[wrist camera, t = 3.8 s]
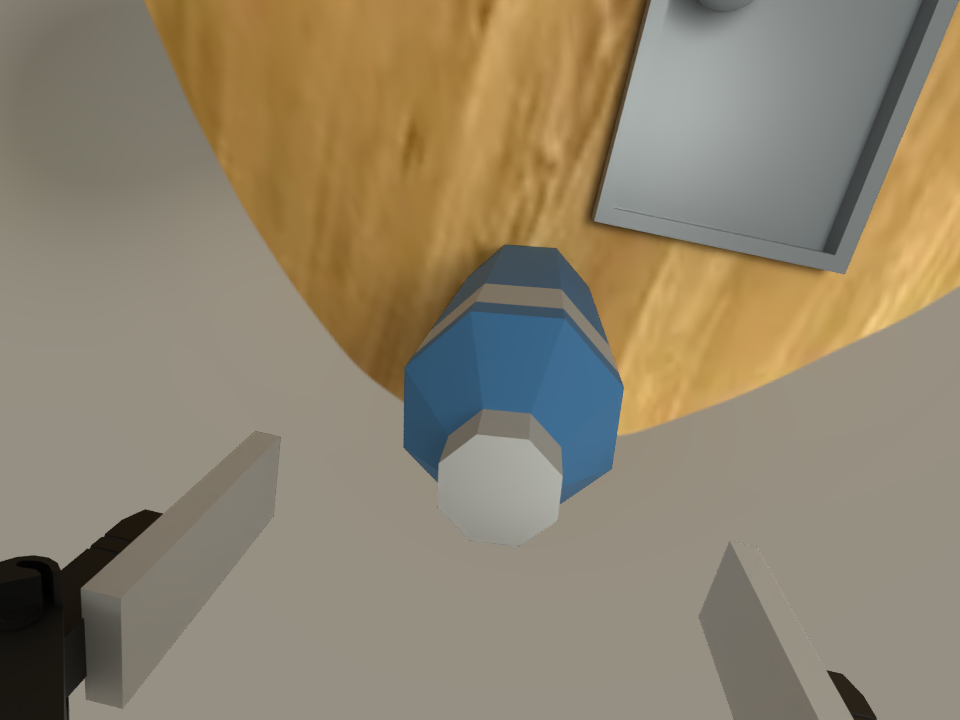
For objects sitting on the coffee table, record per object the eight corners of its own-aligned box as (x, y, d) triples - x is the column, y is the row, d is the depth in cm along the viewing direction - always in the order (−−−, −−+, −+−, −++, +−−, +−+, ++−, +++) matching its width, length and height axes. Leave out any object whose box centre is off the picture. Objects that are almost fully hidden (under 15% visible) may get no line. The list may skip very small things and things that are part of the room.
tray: (591, 218, 39) (594, 221, 37) (682, -140, 32) (693, -164, 30) (826, 267, 38) (844, 274, 36) (969, -87, 32) (1003, -107, 29)
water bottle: (443, 265, 41) (306, 399, 18) (569, 222, 39) (605, 308, 16) (485, 381, 44) (415, 635, 20) (606, 347, 42) (684, 582, 18)
